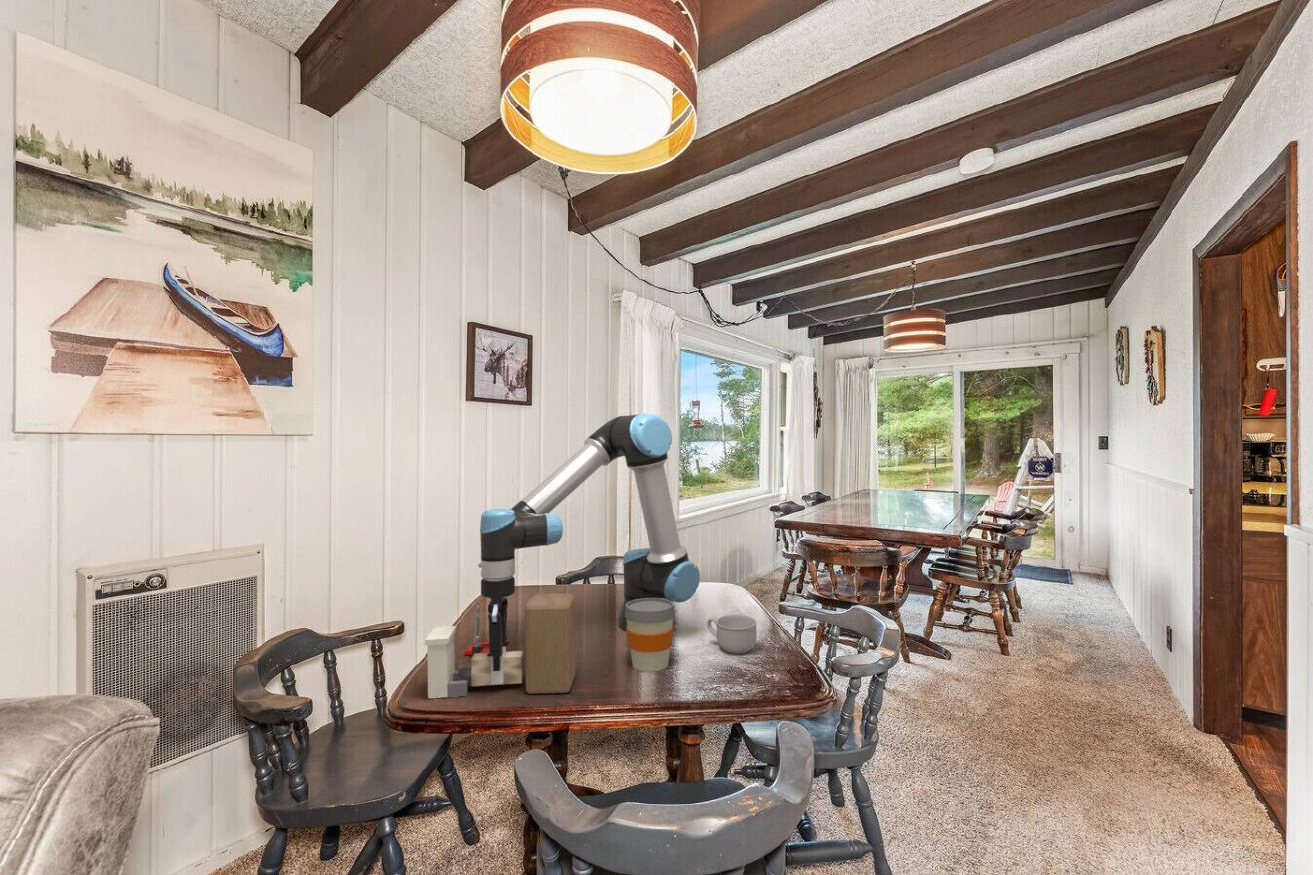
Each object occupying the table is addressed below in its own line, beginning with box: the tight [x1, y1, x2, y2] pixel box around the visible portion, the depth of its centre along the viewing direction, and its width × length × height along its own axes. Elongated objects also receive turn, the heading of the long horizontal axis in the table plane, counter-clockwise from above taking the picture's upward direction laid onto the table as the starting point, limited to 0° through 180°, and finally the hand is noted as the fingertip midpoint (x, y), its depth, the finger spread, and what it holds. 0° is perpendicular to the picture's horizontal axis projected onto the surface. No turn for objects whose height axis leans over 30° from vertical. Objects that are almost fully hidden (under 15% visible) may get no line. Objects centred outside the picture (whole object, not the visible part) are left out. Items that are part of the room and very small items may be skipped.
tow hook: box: [463, 605, 489, 657], centre depth 152 cm, size 8×13×9 cm
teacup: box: [706, 613, 758, 655], centre depth 151 cm, size 14×11×8 cm
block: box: [524, 592, 576, 695], centre depth 129 cm, size 10×10×20 cm
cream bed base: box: [424, 625, 469, 699], centre depth 127 cm, size 8×9×13 cm
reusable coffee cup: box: [625, 598, 676, 673], centre depth 141 cm, size 13×13×15 cm
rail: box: [457, 650, 524, 687], centre depth 128 cm, size 14×4×6 cm, turn 98°
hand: (498, 679), depth 128 cm, fingers closed on rail, 4 cm apart
